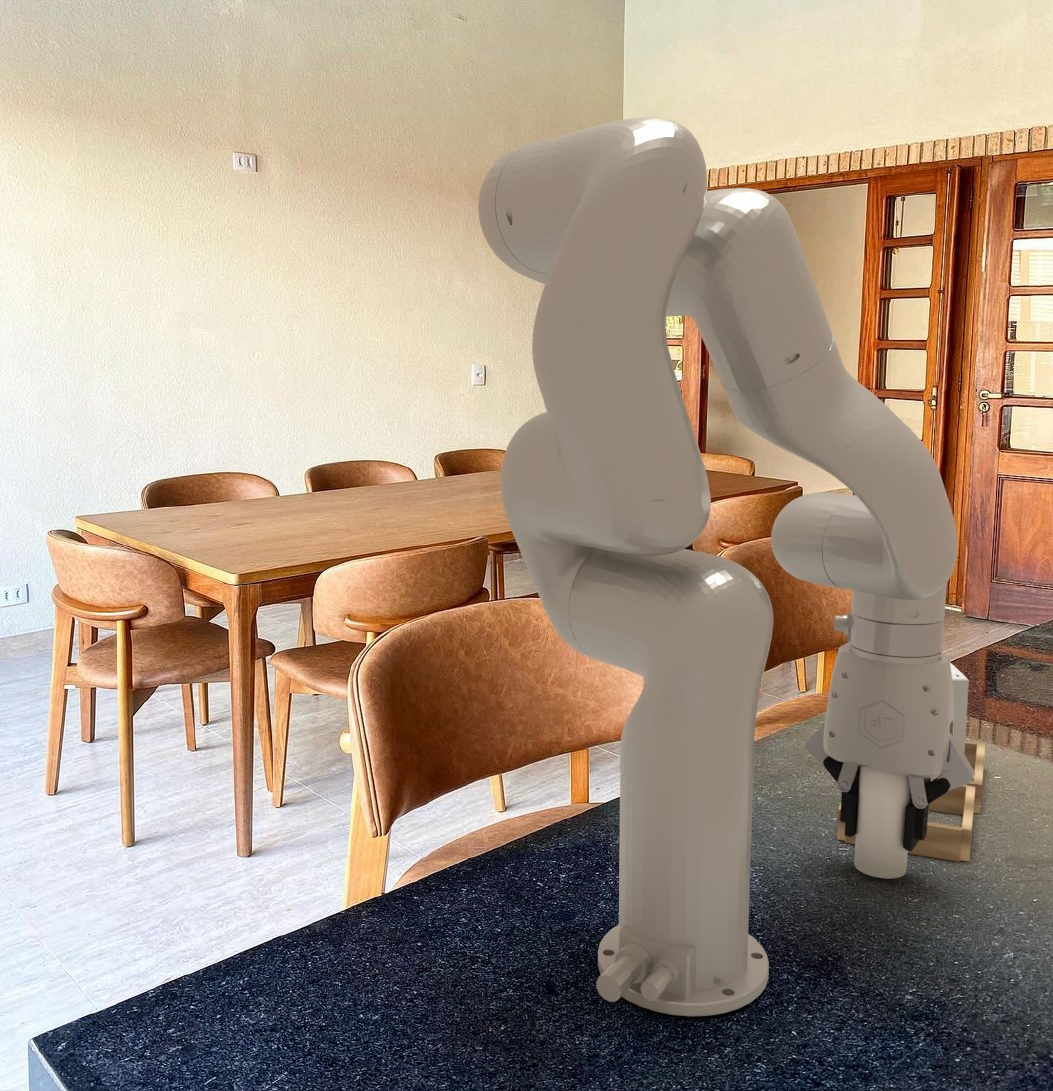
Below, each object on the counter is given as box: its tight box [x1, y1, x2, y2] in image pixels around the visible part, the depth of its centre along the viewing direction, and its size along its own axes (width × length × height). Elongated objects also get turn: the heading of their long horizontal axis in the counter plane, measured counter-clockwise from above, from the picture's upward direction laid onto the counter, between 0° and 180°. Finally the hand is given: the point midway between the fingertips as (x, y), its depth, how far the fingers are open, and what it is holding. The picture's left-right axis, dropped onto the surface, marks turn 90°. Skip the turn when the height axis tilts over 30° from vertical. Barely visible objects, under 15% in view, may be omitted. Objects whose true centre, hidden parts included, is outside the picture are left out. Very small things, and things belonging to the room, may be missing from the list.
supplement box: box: [938, 662, 970, 776], centre depth 115 cm, size 7×7×13 cm
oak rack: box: [836, 740, 986, 863], centre depth 110 cm, size 25×13×3 cm, turn 156°
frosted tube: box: [853, 766, 912, 879], centre depth 95 cm, size 5×5×12 cm
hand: (882, 836), depth 95 cm, fingers closed on frosted tube, 4 cm apart
